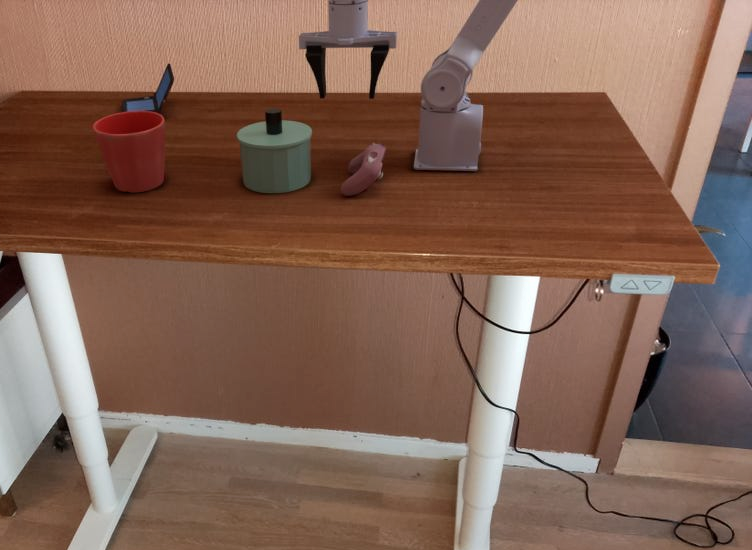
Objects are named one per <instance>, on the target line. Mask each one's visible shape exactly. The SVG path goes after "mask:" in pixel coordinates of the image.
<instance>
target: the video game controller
mask: <svg viewBox="0 0 752 550" xmlns="http://www.w3.org/2000/svg"><path fill="white" fill-rule="evenodd" d="M386 151H387V147H385V146H384V145H383V144H381V143H377V144H376V143H375V142H373V141H372V144H369V145H367V146H366V148H365V150H363V151H362V152H360V154H357V156H355V157H354V158H352V159H351V160H350V162H348V165H347V170H348V172H349V174H351V176H349V178H347V179H346V180H345V181H344V182H343V183H342V185H341V188H340V191H341V193H342V195H343V196H346V197H350V196H356V195H358V194H360V193H362V192H363V191H365V190H367V191H368V190H369V189H370V187H371V186H372V185H373V184H374V183H375V181H376V180H377V179H378V181H380V180H381V179H383V176H384V171H382V167H383V159H384V157H385V154H386Z"/></svg>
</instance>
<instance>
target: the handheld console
mask: <svg viewBox="0 0 752 550" xmlns="http://www.w3.org/2000/svg"><path fill="white" fill-rule="evenodd" d="M174 82H175V76H174V72H173V68H172V66H171V63H170V62H169V63H167V64H166V67H165V70H164V72H163V74H162V76H161V79H160V81H159V84H158V86H157V88H156V91H155V92H153V95H151V96H141V97H132V98H124V99H123V100H121V108H122V109H121V110H122V112H128V111H151V112H156V113H159V114H161V115H162V116H163V114H162V110H164V109H163V108H164V106H165V104H166V101H167V99H168V97H169V94H170V92H171V90H172V87H173V85H174Z"/></svg>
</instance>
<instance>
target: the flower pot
mask: <svg viewBox="0 0 752 550" xmlns="http://www.w3.org/2000/svg"><path fill="white" fill-rule="evenodd" d="M165 120H166V119H165V117H164V116H163V114H162V115H161V114H159V113H156V112H151V111H128V112H123V111H122V112H117V113H112V114H110V115H107V116H104V117H102V118H99V119H98V120H96V121H95V122H94V123H93V125H92V131H93V135H94V137H95V139H96V143H97V144H98V147H99V150H100V152H101V155H102V158H103V161H104V163H105V166H106V168H107V171H108V173H109V175H110V178H111V180H112V183H113V185H114V187H115V188H116V189H117V190H118V191H119V192H120V191H121V192H124V193H126V192H128V193H143V192H144V193H145V192H148V191H152V190H154V189H156V188H158V187H160V186H161V185H162V184H163V183H164V181H165V165H166V164H165V163H166V161H165V160H166V159H165V158H166V121H165Z"/></svg>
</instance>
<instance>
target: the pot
mask: <svg viewBox="0 0 752 550" xmlns="http://www.w3.org/2000/svg"><path fill="white" fill-rule="evenodd" d="M239 153H240V162H241V163H240V165H241V176H242V182H243V185H244V186H245V188H247V189H248V190H250V191H254V192H257V193H261V194H263V193H264V194H282V193H283V194H284V193H290V192H293V191H297V190H300V189H302V188H304V187H305V186H307V185H308V184H310V182H311V177H312V157H311V155H312V153H311V138H310V139H309V140H307V141H306V142H304V143H301V144H299V145H295V146H291V147H286V148H277V149H260V148H253V147H249V146H245V145H243V144H241V143H240V142H239Z"/></svg>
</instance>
